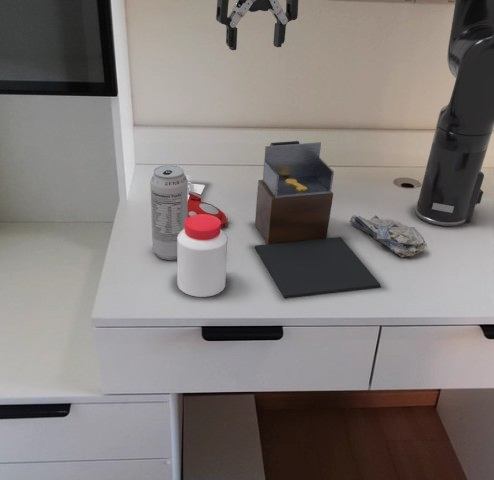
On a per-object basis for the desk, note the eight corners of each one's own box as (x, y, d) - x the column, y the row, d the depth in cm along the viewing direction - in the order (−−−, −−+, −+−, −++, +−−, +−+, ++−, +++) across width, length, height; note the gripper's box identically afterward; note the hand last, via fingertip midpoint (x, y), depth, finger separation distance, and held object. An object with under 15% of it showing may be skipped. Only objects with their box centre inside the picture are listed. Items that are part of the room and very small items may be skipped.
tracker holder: (239, 217, 115) (202, 222, 108) (230, 237, 117) (194, 243, 110) (197, 183, 121) (160, 186, 114) (190, 203, 123) (153, 206, 116)
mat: (254, 247, 108) (254, 245, 108) (340, 239, 110) (340, 236, 110) (284, 298, 95) (284, 295, 95) (380, 287, 98) (380, 284, 97)
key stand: (254, 225, 115) (258, 179, 110) (310, 219, 117) (316, 175, 111) (267, 245, 108) (271, 198, 103) (326, 239, 110) (333, 193, 105)
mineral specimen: (431, 256, 106) (437, 235, 103) (388, 263, 104) (393, 242, 102) (386, 219, 117) (391, 199, 115) (347, 224, 116) (350, 204, 113)
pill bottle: (235, 283, 98) (239, 222, 92) (201, 303, 94) (203, 239, 88) (201, 265, 103) (202, 206, 96) (167, 283, 98) (166, 221, 92)
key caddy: (254, 171, 113) (257, 136, 109) (306, 167, 114) (310, 132, 111) (274, 198, 103) (278, 161, 100) (330, 193, 105) (336, 156, 101)
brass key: (282, 181, 108) (282, 180, 108) (291, 179, 109) (291, 177, 109) (300, 191, 104) (300, 190, 104) (309, 189, 105) (310, 187, 105)
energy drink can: (192, 247, 108) (193, 166, 99) (179, 264, 103) (179, 180, 95) (161, 241, 110) (159, 161, 101) (147, 257, 105) (143, 175, 96)
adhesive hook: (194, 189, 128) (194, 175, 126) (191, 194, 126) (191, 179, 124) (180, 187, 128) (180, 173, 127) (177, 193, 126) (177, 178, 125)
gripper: (227, -54, 96) (224, 55, 105) (311, -57, 99) (300, 50, 108) (212, -58, 102) (210, 46, 111) (292, -61, 105) (283, 41, 114)
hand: (255, 47), depth 110 cm, fingers open, 8 cm apart
